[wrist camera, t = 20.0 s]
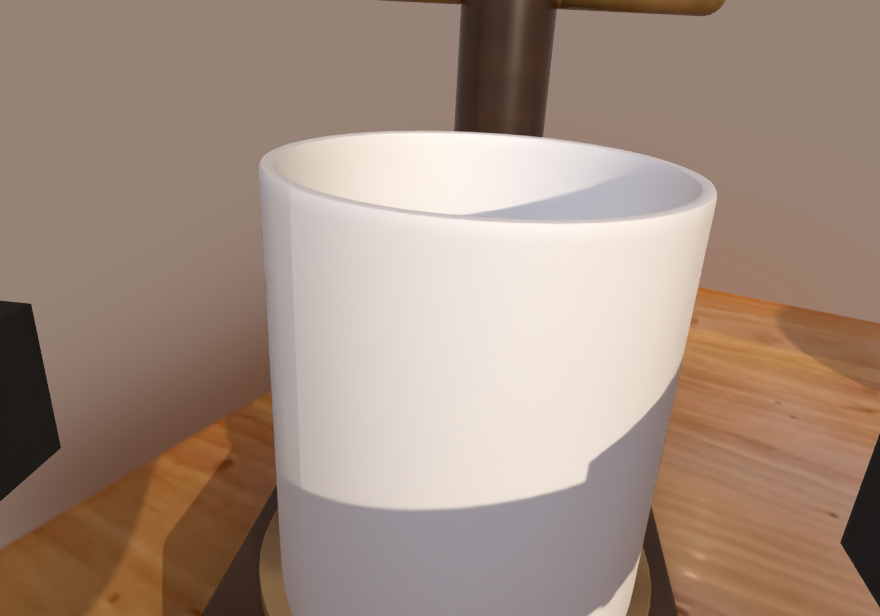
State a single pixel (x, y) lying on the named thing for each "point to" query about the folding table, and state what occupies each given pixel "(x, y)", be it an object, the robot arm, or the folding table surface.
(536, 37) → the mug stand
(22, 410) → the robot arm
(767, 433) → the folding table surface
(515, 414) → the mug
